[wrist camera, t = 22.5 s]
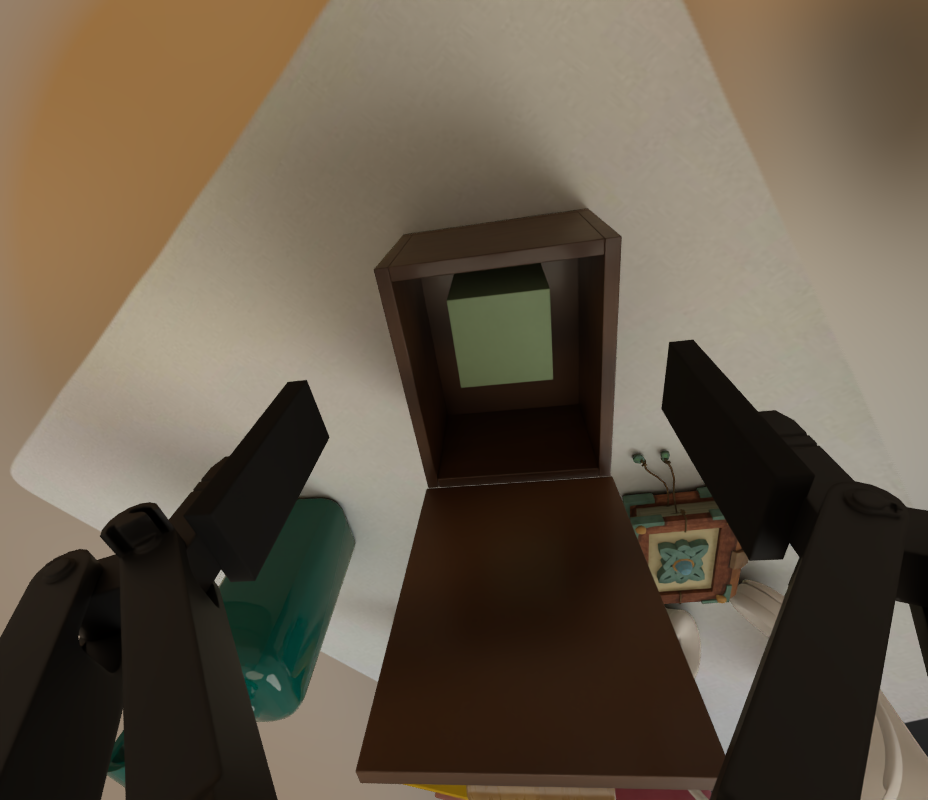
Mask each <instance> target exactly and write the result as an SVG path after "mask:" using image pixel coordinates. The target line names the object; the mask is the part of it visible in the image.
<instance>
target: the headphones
mask: <svg viewBox="0 0 928 800" xmlns="http://www.w3.org/2000/svg"><path fill="white" fill-rule="evenodd" d="M783 600H784V596H783V595H781V594H780V593H778V592H777V591H775V590H773V589H772V588H770V587H768V586H766V585H764V584H761V583H758V582H755V581H752V580H743V581H742V584H739V585H738V587H737V592H736V595H735V596H733V597H732V598H730V600H729V601H730V603H731V604H732V605H733V607H734V608H735V609H736V610H737V611H738V612H739V613H740V614H741V615H742V616H743V617H744V618H745V619H746V620H748V621H749V622H750V623H751V624H752V625H753V626H755V627H756V628H757V629H758V630H759V631H761V632H762V633H763V634H765V635H766V636H767V637H770V635H771V632H772V629H773V627H774V624H775V621H776V619H777V616H778V613H779V610H780V608H781V605H782V602H783ZM666 610H667V613H668V615H669V618H670V620H671V623H672V625H673V628H674V630H675V632H676V635H677V637H678V640H679V642H680V645H681V647H682V650H683V652H684V655H685V657H686V660H687V662H688V665H689V667H690V669H691V672H692V674H693V677H694V679H695V678H696V675H697V673H698V669H699V665H700V658H701V643H700V635H699V631H698V627H697V625H696V622H695V620H694V618H693V617H692V616H691V614H689V613H688V612H687V611H685V610H675V609H667V608H666ZM875 715H876V717H877V720H878V722H879V725H880V728H881V731H882V735H883V739H884V745H885V769H884V775H883V787H884V789H885V790H886V793H885V795H884V797H883V799H882V800H896V798H897V796H898V793H899V790H900V786H901V781H902V768H903V766H902V755H901V750H900V745H899V742H898V738H897V735H896V732H895V730H894V727H893V725H892V722H891V720H890V718H889V716H888V714H887V712H886V711H885V709H884V707H883V705H882V704H881V702H880V701H879V699H878V702H877V708H876V714H875ZM688 791H689V792H690V793H691V795H692V796H693V797H694V798H695V799H696V800H709V799H708V798H707V797H706V796H705V795H704V794H703V793H702V792H701V790H688Z"/></svg>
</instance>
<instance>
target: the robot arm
mask: <svg viewBox="0 0 928 800" xmlns="http://www.w3.org/2000/svg"><path fill="white" fill-rule="evenodd" d="M662 410H663V412H664V414H665V416H666V417H667V419H668V421H669V423H670V424H671V426H672V428H673V430H674V431H675V433H676V435H677V436H678V438H679V440H680V442H681V443H682V445H683V447H684V449H685V450H686V452H687V454H688V456H689V457H690V459H691V461H692V462H693V464H694V466H695V468H696V469H697V471H698V473H699V475H700V476H701V478H702V480H703V482H704V483H705V485H706V487H707V488H708V490H709V492H710V494H711V495H712V497H713V499H714V501H715V502H716V504H717V506H718V507H719V509H720V511H721V513H722V514H723V516H724V518H725V520H726V521H727V523H728V525H729V527H730V528H731V530H732V532H733V533H734V535H735V537H736V539H737V540H738V542H739V544H740V546H741V547H742V549H743V551H744V553H745V554H746V556H747V558H748V559H749V561H753V560H778V559H783V558H784V555H785V553H786V550H787V548H788V545H789V543H790V544H791V546H792V547H793V549H794V550H795V551H796V553H797V554H798V556H799V557H800V558H799V560H798V562H797V565H796V567H795V570H794V572H793V574H792V577H791V579H790V582H789V584H788V585H789V586H788V589H787V592H786V594H785V597H784V600H783V602H782V605H781V608H780V610H779V613H778V616H777V619H776V621H775V624H774V627H773V629H772V632H771V635H770V637H769V640H768V643H767V645H766V648H765V651H764V654H763V656H762V659H761V662H760V664H759V667H758V670H757V672H756V675H755V678H754V680H753V683H752V686H751V689H750V691H749V694H748V697H747V699H746V702H745V705H744V707H743V710H742V713H741V715H740V718H739V721H738V724H737V726H736V729H735V732H734V734H733V737H732V740H731V742H730V745H729V748H728V750H727V753H726V756H725V759H724V761H723V764H722V767H721V769H720V772H719V775H718V777H717V780H716V783H715V785H714V788H713V791H712V794H711V796H710V799H709V800H860V799H861V794H862V788H863V782H864V776H865V771H866V765H867V759H868V754H869V748H870V742H871V736H872V731H873V725H874V719H875V714H876V708H877V702H878V696H879V691H880V685H881V679H882V674H883V668H884V662H885V656H886V651H887V645H888V639H889V634H890V628H891V622H892V616H893V611H894V605H895V601H899V602H904V603H908V604H909V606H910V609H911V613H912V617H913V621H914V625H915V629H916V633H917V637H918V641H919V644H920V648H921V652H922V656H923V660H924V664H925V668H926V672H927V676H928V511H926V510H920V509H913V508H908V507H906V506H905V505H904V504H903V503H902V502H901V500H900V499H898V498H897V497H895V496H894V495H892V494H891V493H889V492H887V491H885V490H883V489H880V488H878V487H876V486H873V485H870V484H865V483H860V482H855V481H854V480H853V479H852V478H851V477H850V476H849V475H848V474H847V473H846V472H845V471H844V470H843V469H842V468H841V467H840V466H839V465H838V464H837V463H836V462H835V461H834V460H833V459H832V458H831V457H830V456H829V455H828V454H827V453H826V452H825V451H824V450H823V449H822V448H821V447H820V446H817V443H816V442H815V441H814V440H813V439H812V438H811V437H810V436H809V435H808V436H807V433H806V432H805V431H804V430H803V429H802V428H801V427H800V426H799V425H798V424H797V423H796V422H795V421H794V420H792V419H791V418H789V417H787V416H785V415H783V414H781V413H779V412H778V411H776V410H773V411H761V412H758V411H757V410H756V409H755V408H754V407H753V406H752V404H751V403H750V402H749V401H748V400H747V399H746V398H745V397H744V396H743V395H742V393H741V392H740V391H739V390H738V389H737V388H736V387H735V386H734V385H733V383H732V382H731V381H730V380H729V379H728V378H727V377H726V376H725V375H724V373H723V372H722V371H721V370H720V369H719V368H718V367H717V366H716V365H715V363H714V362H713V361H712V360H711V359H710V358H709V357H708V356H707V355H706V353H705V352H704V351H703V350H702V349H701V348H700V347H699V346H698V345H697V343H696V342H695V341H694V340H685V341H676V342H669V349H668V358H667V366H666V375H665V383H664V392H663V401H662ZM328 439H329V435H328V432H327V430H326V427H325V425H324V422H323V420H322V417H321V415H320V412H319V410H318V407H317V405H316V402H315V400H314V397H313V395H312V392H311V390H310V387H309V385H308V382H307V380H303V381H293V382H287V384H286V385H285V386H284V388H283V389H282V390H281V391H280V393H279V394H278V395H277V396H276V398H275V399H274V400H273V402H272V403H271V404H270V405H269V407H268V408H267V409H266V411H265V412H264V413H263V414H262V416H261V417H260V418H259V419H258V421H257V422H256V423H255V425H254V426H253V427H252V428H251V430H250V431H249V432H248V433H247V435H246V436H245V437H244V439H243V440H242V441H241V442H240V444H239V445H238V446H237V447H236V449H235V450H234V451H233V453H232V454H231V455H230V456H228V457H224V458H223V459H222V460H220V461H219V462H218V463H217V464H215V465H214V466H213V467H211V468H210V470H209V471H208V472H207V473H206V475H205V476H204V477H203V478H202V479H201V480H202V481H201V482H199V483H198V484H197V486H196V487H195V488H194V489H193V490H194V491H193V492H191V493H190V494H189V495H188V497H187V498H186V499H185V500H184V502H183V503H182V504H181V505H180V507H179V508H178V509H177V510H176V511H175V513H174V514H173V515H172V516H171V518H170V519H169V520H168V519H167V517H166V516H165V515H164V513H163V512H162V511H161V509H160V508H159V507H158V505H157V504H155V503H151V502H149V503H142V504H138V505H136V506H133V507H130V508H128V509H127V510H125V511H123V512H121V513H119V514H118V515H117V516H115V517H114V518H113V519H112V520H110V521H109V522H108V523H107V525H106V526H105V527H104V528H103V529H102V532H101V535H100V537H101V538H102V539H103V540H104V542H105V543H106V544H107V545H108V546H109V547H110V548H111V549H112V550H113V551H114V553H115V555H112V556H109V557H106V558H102V559H99V560H96V559H95V558H94V557H93V556H92V555H91V554H90V553H89V551H88V550H83V549H79V550H75V551H71V552H68V553H66V554H64V555H61V556H59V557H57V558H55V559H53V561H50V562H49V563H47V564H46V565H45V566H44V567H43V568H42V569H41V570H40V571H39V572H38V573H37V574H36V575H35V576H34V577H33V579H32V580H31V582H30V583H29V585H28V587H27V589H26V591H25V593H24V595H23V596H22V598H21V600H20V602H19V604H18V606H17V607H16V609H15V611H14V613H13V615H12V617H11V619H10V620H9V622H8V624H7V626H6V628H5V630H4V632H3V634H2V635H1V637H0V800H101V797H102V792H103V788H104V784H105V780H106V776H107V772H108V768H109V764H110V760H111V755H112V751H113V747H114V743H115V739H116V735H117V731H118V727H119V723H120V718H121V714H122V710H123V716H124V754H125V790H126V800H277V796H276V792H275V789H274V785H273V781H272V778H271V774H270V770H269V767H268V763H267V760H266V756H265V752H264V749H263V745H262V741H261V738H260V734H259V730H258V727H257V723H256V719H255V716H254V712H253V709H252V705H251V701H250V698H249V694H248V690H247V687H246V683H245V679H244V676H243V672H242V669H241V665H240V661H239V658H238V654H237V650H236V647H235V643H234V639H233V636H232V632H231V628H230V625H229V621H228V618H227V614H226V610H225V607H224V603H223V599H222V596H221V592H220V588H219V587H218V586H217V584H216V583H215V581H214V580H215V578H216V577H217V575H218V573H219V572H220V570H222V571H223V572H224V574H225V575H226V577H227V578H228V579H229V581H230V582H243V581H255V580H256V578H257V576H258V574H259V572H260V571H261V569H262V567H263V565H264V563H265V561H266V559H267V557H268V555H269V553H270V551H271V549H272V547H273V545H274V543H275V542H276V540H277V538H278V536H279V534H280V532H281V530H282V528H283V526H284V524H285V522H286V520H287V518H288V516H289V515H290V513H291V511H292V509H293V507H294V505H295V503H296V501H297V499H298V497H299V495H300V493H301V491H302V489H303V487H304V486H305V484H306V482H307V480H308V478H309V476H310V474H311V472H312V470H313V468H314V466H315V464H316V462H317V460H318V458H319V457H320V455H321V453H322V451H323V449H324V447H325V445H326V443H327V441H328ZM78 636H80V639H79V638H78Z"/></svg>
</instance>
